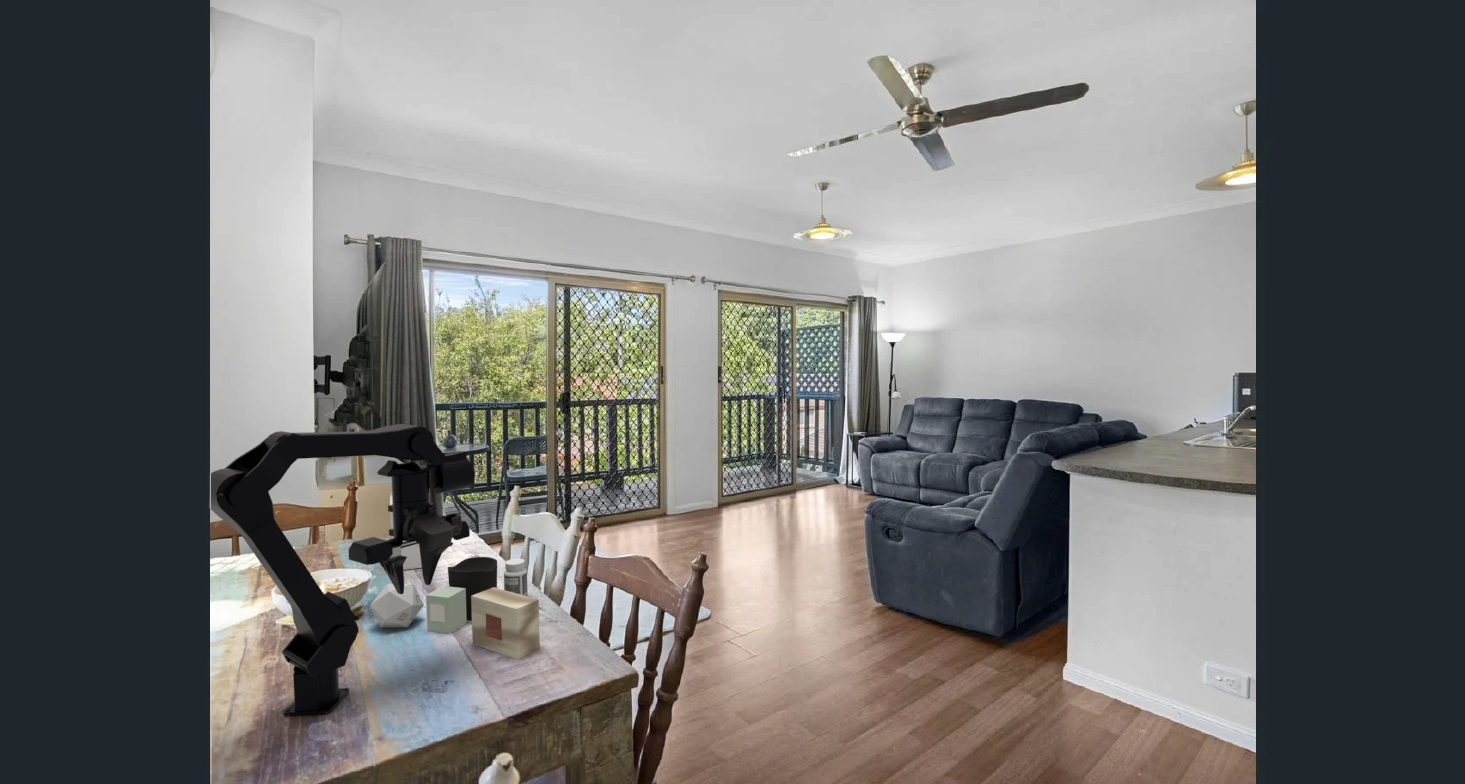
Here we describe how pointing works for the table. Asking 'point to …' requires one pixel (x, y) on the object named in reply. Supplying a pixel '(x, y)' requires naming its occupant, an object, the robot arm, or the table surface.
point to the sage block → (446, 609)
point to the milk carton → (408, 549)
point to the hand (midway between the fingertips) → (414, 589)
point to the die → (396, 606)
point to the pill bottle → (515, 577)
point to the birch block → (505, 622)
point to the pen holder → (473, 577)
